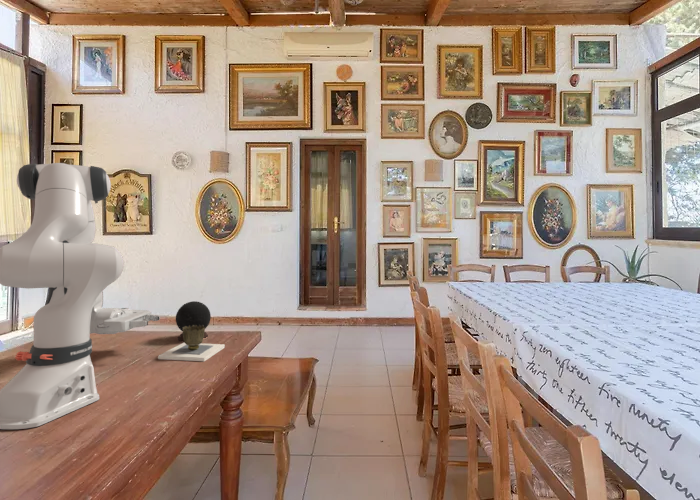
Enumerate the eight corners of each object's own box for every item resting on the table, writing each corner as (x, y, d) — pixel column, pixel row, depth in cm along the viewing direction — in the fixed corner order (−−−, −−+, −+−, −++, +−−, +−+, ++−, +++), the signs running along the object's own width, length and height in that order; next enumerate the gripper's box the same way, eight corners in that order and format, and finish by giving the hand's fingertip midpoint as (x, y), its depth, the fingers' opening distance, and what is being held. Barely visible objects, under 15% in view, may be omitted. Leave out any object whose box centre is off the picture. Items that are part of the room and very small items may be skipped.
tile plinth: (204, 361, 122) (204, 356, 122) (158, 359, 124) (158, 354, 124) (224, 347, 138) (224, 343, 138) (183, 345, 140) (183, 341, 140)
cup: (204, 351, 128) (205, 328, 128) (181, 353, 126) (181, 329, 125) (204, 345, 135) (205, 323, 135) (182, 347, 133) (183, 325, 132)
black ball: (175, 335, 154) (175, 299, 154) (209, 332, 159) (209, 298, 159) (175, 343, 142) (175, 305, 142) (211, 340, 148) (212, 303, 147)
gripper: (93, 317, 117) (138, 317, 118) (126, 307, 137) (165, 307, 139) (93, 337, 117) (138, 336, 118) (126, 324, 137) (165, 323, 139)
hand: (153, 320), depth 129 cm, fingers open, 8 cm apart
